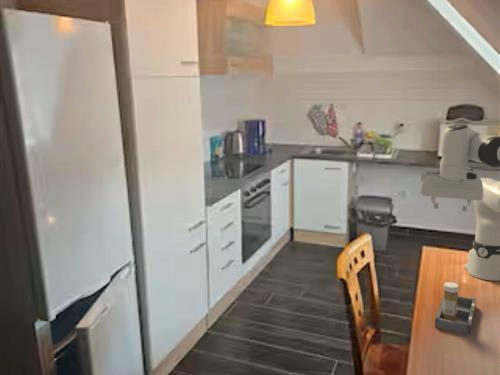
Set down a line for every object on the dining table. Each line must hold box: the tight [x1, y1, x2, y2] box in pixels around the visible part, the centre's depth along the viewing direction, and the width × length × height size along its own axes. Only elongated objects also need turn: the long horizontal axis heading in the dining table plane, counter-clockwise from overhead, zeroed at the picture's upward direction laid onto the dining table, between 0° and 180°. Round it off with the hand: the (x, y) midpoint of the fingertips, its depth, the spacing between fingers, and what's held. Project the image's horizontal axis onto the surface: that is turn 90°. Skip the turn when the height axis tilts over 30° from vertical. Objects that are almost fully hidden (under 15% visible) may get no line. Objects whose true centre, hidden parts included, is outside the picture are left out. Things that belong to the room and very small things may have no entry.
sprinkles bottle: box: [442, 281, 460, 322], centre depth 158 cm, size 5×5×13 cm
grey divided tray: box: [434, 295, 477, 336], centre depth 162 cm, size 20×10×4 cm, turn 150°
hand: (450, 209), depth 168 cm, fingers open, 8 cm apart
